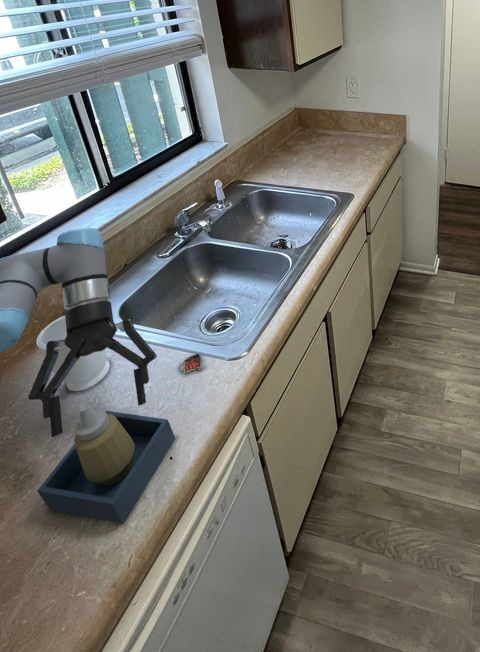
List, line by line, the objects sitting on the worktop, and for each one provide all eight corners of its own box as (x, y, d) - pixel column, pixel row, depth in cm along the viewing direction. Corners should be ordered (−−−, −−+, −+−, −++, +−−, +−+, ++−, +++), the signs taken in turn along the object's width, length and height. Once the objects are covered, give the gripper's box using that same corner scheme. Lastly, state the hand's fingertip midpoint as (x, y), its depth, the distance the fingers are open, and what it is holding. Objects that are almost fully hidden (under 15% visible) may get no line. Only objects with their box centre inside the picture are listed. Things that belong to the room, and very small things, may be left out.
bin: (49, 510, 77) (36, 490, 75) (111, 429, 90) (101, 409, 88) (123, 523, 75) (112, 504, 73) (175, 438, 88) (168, 419, 86)
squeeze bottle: (128, 439, 88) (99, 378, 80) (148, 464, 83) (119, 402, 75) (83, 475, 82) (47, 413, 74) (102, 504, 77) (66, 441, 70)
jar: (83, 402, 96) (58, 354, 89) (50, 388, 99) (24, 341, 92) (125, 362, 105) (105, 316, 98) (93, 351, 108) (72, 306, 101)
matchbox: (198, 353, 107) (198, 351, 106) (205, 366, 103) (204, 365, 103) (178, 363, 104) (177, 362, 104) (184, 378, 100) (184, 377, 100)
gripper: (161, 287, 95) (178, 390, 89) (20, 327, 86) (28, 444, 80) (153, 283, 88) (171, 394, 83) (-1, 326, 79) (7, 454, 73)
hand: (101, 419), depth 81 cm, fingers open, 13 cm apart
